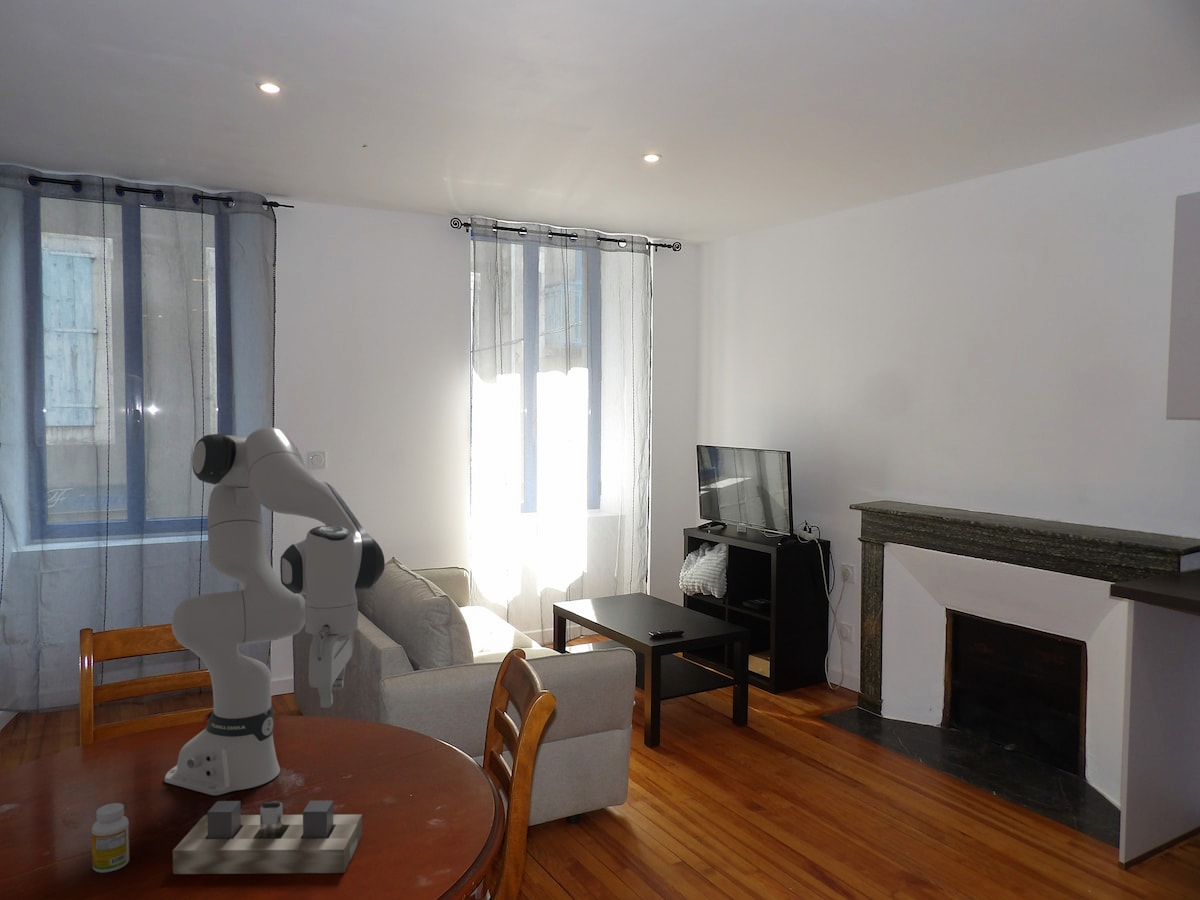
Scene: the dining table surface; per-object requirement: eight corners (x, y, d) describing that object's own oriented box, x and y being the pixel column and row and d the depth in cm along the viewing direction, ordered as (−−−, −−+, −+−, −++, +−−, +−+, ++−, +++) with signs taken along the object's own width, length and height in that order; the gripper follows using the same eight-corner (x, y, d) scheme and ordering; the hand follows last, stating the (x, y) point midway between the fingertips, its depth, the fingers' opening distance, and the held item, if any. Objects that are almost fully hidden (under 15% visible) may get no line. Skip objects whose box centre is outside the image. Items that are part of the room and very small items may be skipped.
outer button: (303, 840, 144) (302, 811, 144) (310, 828, 148) (310, 800, 148) (326, 840, 144) (326, 811, 144) (333, 828, 148) (333, 800, 148)
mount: (173, 874, 139) (172, 850, 139) (204, 836, 151) (204, 815, 151) (344, 872, 140) (344, 849, 140) (362, 836, 152) (362, 814, 152)
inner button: (207, 840, 143) (207, 812, 143) (217, 828, 147) (217, 801, 147) (231, 840, 143) (231, 812, 143) (240, 828, 147) (240, 800, 147)
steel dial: (257, 839, 144) (256, 807, 143) (264, 829, 147) (264, 798, 147) (278, 839, 144) (278, 807, 144) (285, 829, 147) (285, 797, 147)
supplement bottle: (102, 856, 144) (101, 801, 144) (135, 855, 145) (134, 800, 144) (86, 874, 139) (84, 816, 138) (120, 873, 139) (119, 815, 139)
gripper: (338, 633, 138) (339, 717, 138) (359, 606, 158) (360, 679, 159) (298, 634, 137) (299, 718, 138) (325, 607, 158) (326, 681, 158)
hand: (332, 697), depth 148 cm, fingers open, 8 cm apart
